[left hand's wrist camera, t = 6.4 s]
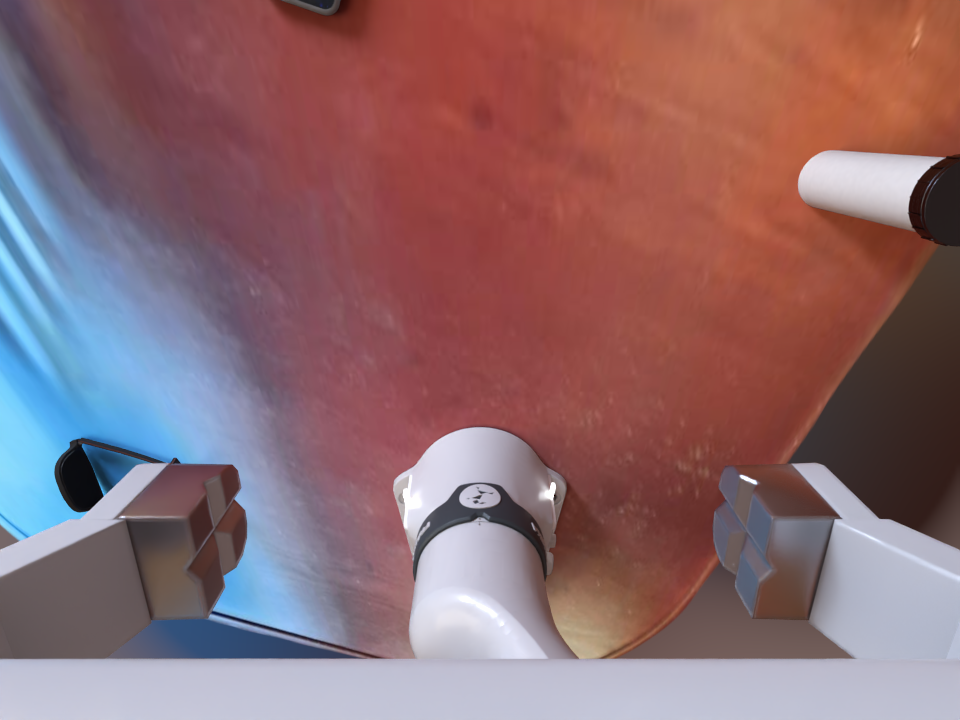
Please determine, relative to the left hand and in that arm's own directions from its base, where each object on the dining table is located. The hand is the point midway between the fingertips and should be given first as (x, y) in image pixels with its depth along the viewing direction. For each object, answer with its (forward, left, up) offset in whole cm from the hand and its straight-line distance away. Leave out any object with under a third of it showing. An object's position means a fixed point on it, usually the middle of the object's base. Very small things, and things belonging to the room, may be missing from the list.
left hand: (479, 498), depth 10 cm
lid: (+1, -31, -31) cm, 44 cm away
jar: (+1, -31, -48) cm, 57 cm away
